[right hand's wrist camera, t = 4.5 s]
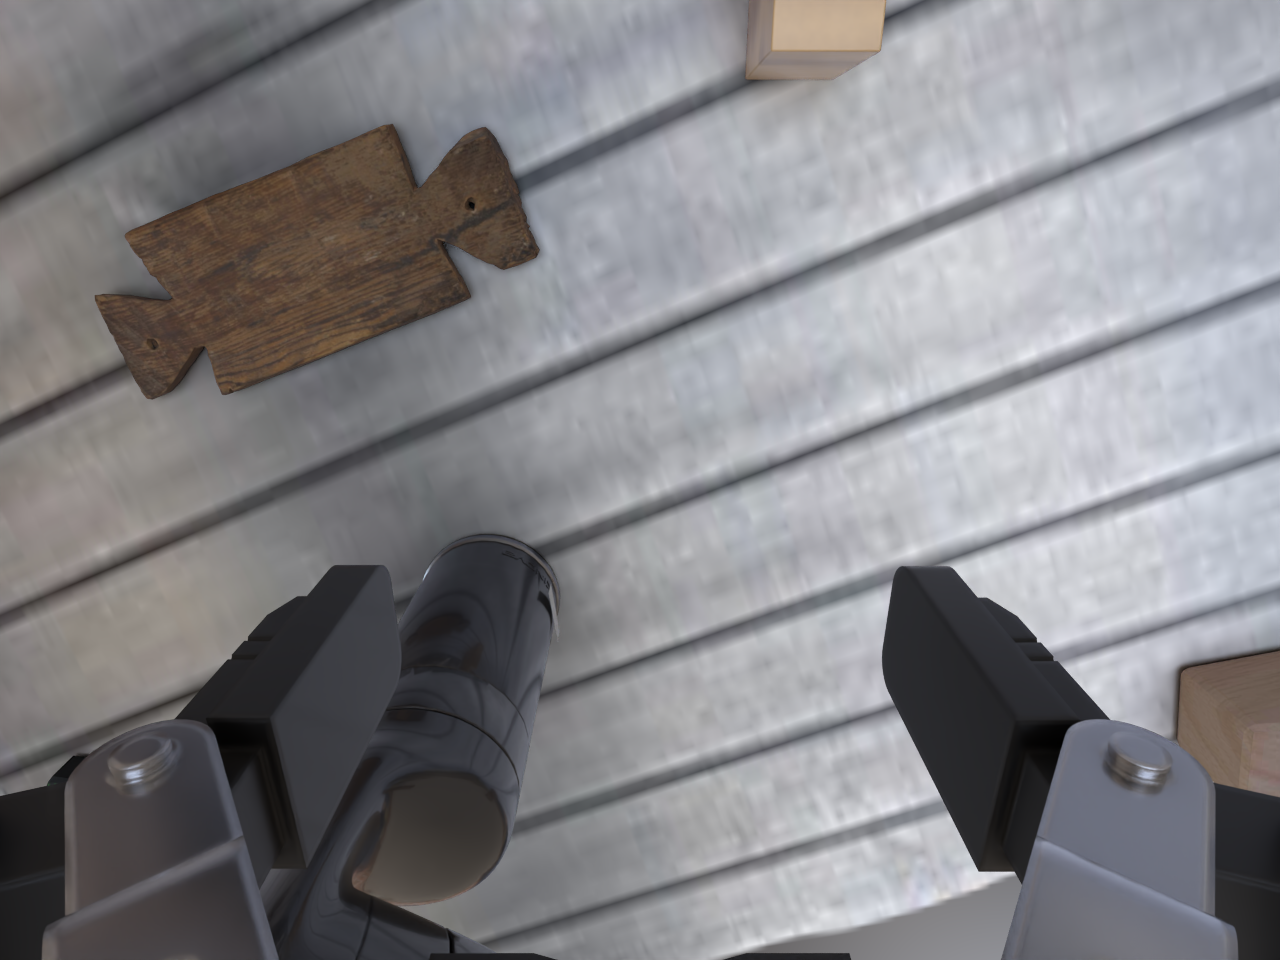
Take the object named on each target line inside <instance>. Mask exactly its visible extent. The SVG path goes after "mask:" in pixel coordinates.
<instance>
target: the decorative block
mask: <svg viewBox="0 0 1280 960" xmlns="http://www.w3.org/2000/svg"><path fill="white" fill-rule="evenodd" d="M1177 740H1178V743H1179V746H1180V747H1181V748H1182V749H1184V750H1185V751H1187V752H1188V753H1189V754H1190V755H1192V756H1193V757H1194V758H1195V759H1196V760H1197V761H1198V762H1199V763H1200V764H1201V765H1202V766H1203V767H1204V768H1205V769H1206V771H1207V772H1208V774H1209V775H1210V776H1211V779H1212V781H1213V782H1214V783H1218V784H1222V785H1226V786H1231V787H1235V788H1240V789H1244V790H1249V791H1253V792H1258V793H1263V794H1267V795H1272V796H1276V797H1280V651H1276V652H1271V653H1265V654H1260V655H1255V656H1249V657H1244V658H1238V659H1233V660H1228V661H1222V662H1217V663H1211V664H1206V665H1201V666H1195V667H1190V668H1187V669H1185V670H1184V671H1183V672H1182V674H1181V682H1180V699H1179V717H1178V735H1177Z"/></svg>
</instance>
